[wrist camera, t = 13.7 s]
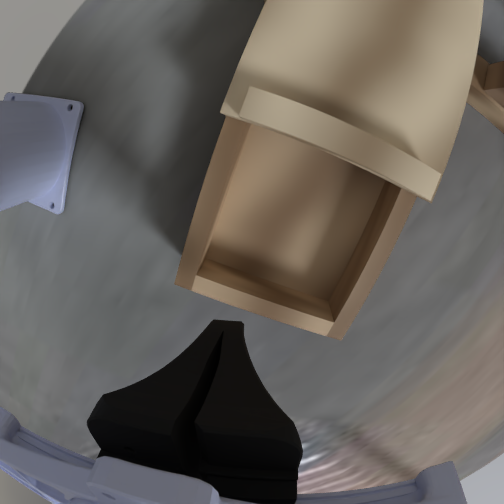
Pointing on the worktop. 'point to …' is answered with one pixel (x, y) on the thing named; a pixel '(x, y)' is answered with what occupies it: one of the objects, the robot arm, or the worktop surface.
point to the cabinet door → (495, 82)
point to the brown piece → (297, 225)
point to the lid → (363, 81)
